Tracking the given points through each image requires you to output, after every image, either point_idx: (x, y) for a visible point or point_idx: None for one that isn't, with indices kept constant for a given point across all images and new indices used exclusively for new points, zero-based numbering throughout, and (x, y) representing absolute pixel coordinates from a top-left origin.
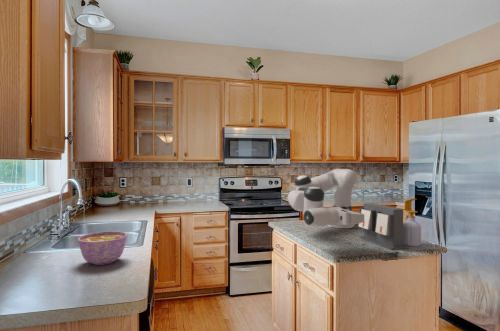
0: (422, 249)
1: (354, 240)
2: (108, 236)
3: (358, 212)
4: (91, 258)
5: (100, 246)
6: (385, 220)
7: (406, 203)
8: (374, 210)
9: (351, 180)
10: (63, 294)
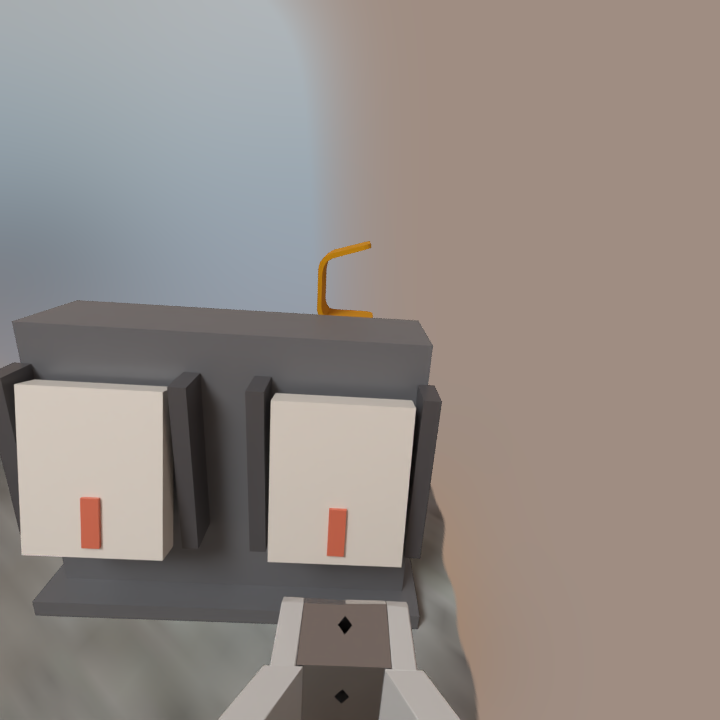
0: (429, 490)
1: (27, 712)
2: None
3: (332, 632)
4: None
5: None
6: (384, 453)
7: (323, 274)
8: (188, 373)
9: None
10: None
